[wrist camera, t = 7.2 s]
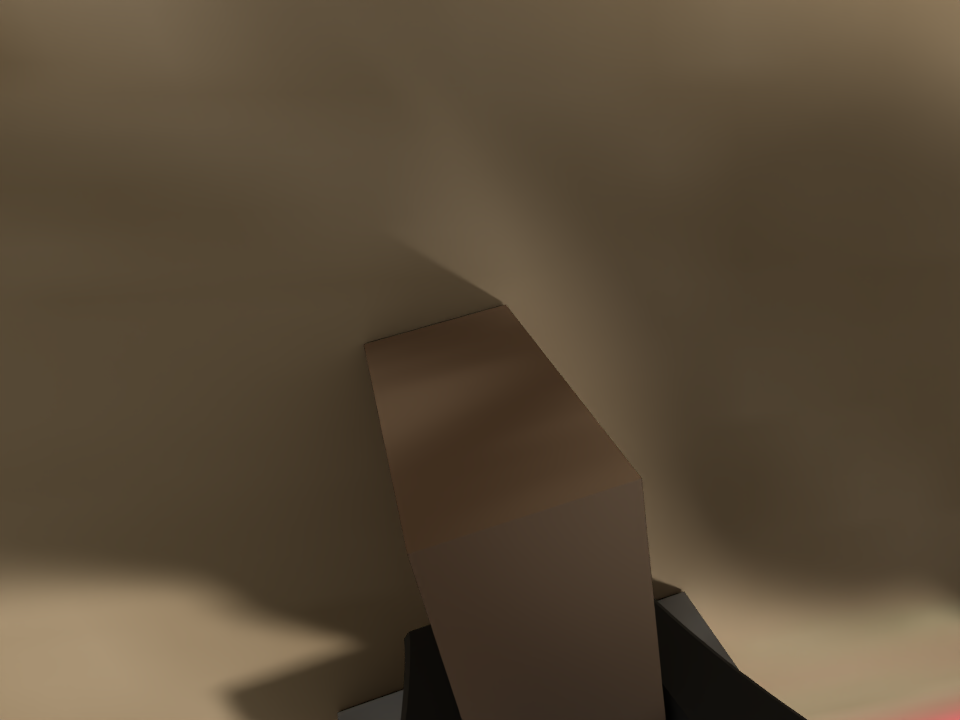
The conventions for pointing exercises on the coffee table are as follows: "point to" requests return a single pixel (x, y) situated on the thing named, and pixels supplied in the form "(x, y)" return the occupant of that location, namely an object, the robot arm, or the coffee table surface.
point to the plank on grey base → (518, 530)
